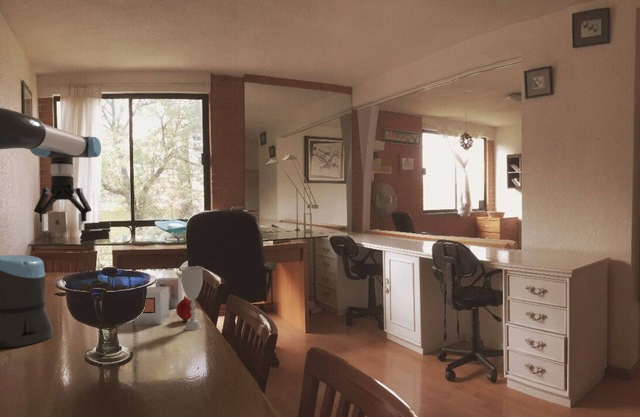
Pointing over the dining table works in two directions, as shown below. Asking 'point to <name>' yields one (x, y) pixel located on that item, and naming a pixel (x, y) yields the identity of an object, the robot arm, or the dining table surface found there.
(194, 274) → the chalice
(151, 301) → the pink square post
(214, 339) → the dining table surface
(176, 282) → the socket
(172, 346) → the dining table surface
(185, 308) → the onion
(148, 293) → the plate
